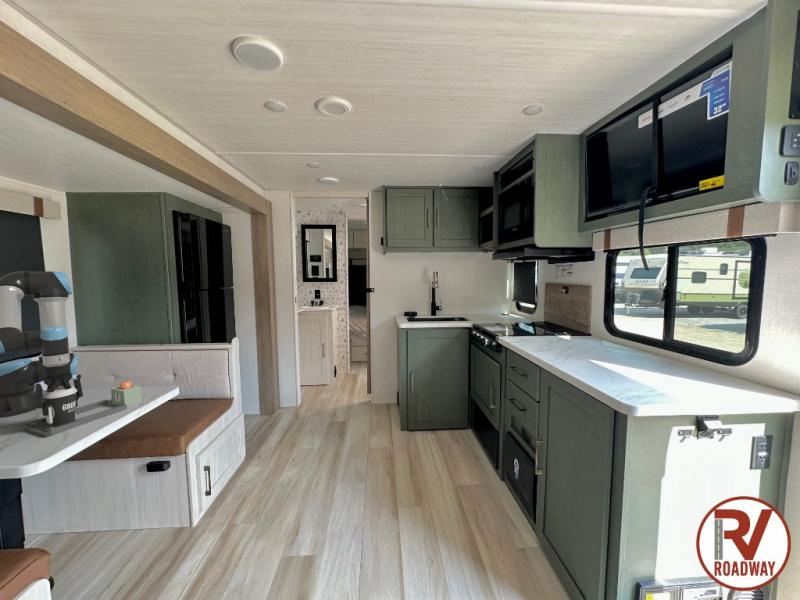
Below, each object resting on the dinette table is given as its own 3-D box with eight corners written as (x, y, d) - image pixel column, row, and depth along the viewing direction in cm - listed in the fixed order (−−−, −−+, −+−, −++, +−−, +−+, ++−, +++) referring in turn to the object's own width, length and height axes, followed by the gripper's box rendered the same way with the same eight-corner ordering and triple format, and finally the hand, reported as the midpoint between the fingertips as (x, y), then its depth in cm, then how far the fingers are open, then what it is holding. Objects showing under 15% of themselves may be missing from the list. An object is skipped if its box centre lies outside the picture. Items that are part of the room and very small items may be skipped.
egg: (119, 395, 151) (118, 383, 151) (128, 392, 155) (127, 380, 154) (124, 396, 150) (123, 384, 149) (133, 393, 153) (132, 381, 153)
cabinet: (110, 405, 151) (109, 389, 150) (129, 399, 158) (128, 383, 157) (123, 408, 147) (122, 391, 146) (141, 402, 154) (140, 386, 153)
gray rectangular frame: (24, 429, 127) (23, 423, 127) (105, 404, 151) (104, 399, 151) (46, 437, 121) (45, 431, 120) (127, 409, 145) (126, 404, 145)
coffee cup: (58, 430, 126) (54, 394, 125) (40, 428, 128) (36, 392, 127) (86, 419, 135) (82, 385, 134) (69, 417, 137) (66, 384, 136)
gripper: (26, 371, 119) (32, 431, 120) (92, 359, 137) (96, 411, 138) (17, 369, 122) (22, 427, 123) (82, 357, 139) (86, 408, 141)
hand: (61, 418), depth 131 cm, fingers closed on coffee cup, 6 cm apart
